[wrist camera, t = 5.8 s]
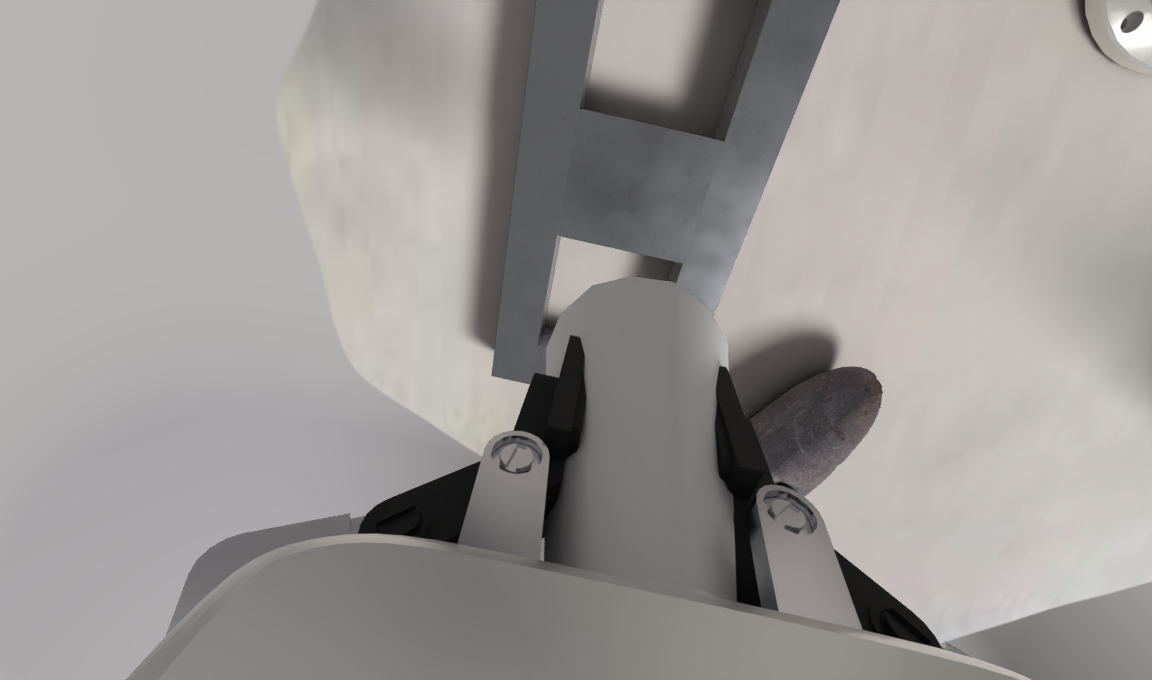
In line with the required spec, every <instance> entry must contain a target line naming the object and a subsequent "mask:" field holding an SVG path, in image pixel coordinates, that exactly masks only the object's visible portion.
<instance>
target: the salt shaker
mask: <svg viewBox="0 0 1152 680" xmlns="http://www.w3.org/2000/svg"><path fill="white" fill-rule="evenodd" d="M570 335H573V336H578V337H580V338H581V342H582V346H583V350H584V354H585V360H584V366H583V373H584V381H585V389H586V397H587V399H586V406H585V412H584V419H583V426H582V431H581V436H580V441H579V446H578V450H577V452H575V453H574V454H572V455H571V456H569V457H568V458H566V459H565V464H564V469H563V475H562V480H561V485H560V490H559V494H558V499H557V501H556V503H555V505H554V506H553V508H552V509H551V511H550V512H549V514H548V516H547V517H546V519H545V552H544V561H546V562H550V563H555V564H560V565H565V566H569V567H574V568H579V569H584V570H588V571H593V572H598V573H603V574H608V575H612V576H617V577H622V578H626V579H631V580H636V581H640V582H645V583H650V584H654V585H659V586H664V587H668V588H673V589H678V590H682V591H687V592H692V593H696V594H701V595H706V596H710V597H715V598H719V599H724V600H729V601H733V602H737V591H736V563H735V534H734V521H733V515H734V505H733V494H732V493H730V492H729V491H728V490H727V484H726V483H725V482H724V481H723V480H722V479H721V478H720V477H719V468H718V457H717V445H716V434H715V417H716V410H717V396H716V384H717V377H718V370H719V366H723V367H726V368H727V369H728V372H729V362H728V343H727V341H726V340H725V338H724V336H723V334H722V332H721V330H720V328H719V326H718V324H717V322H716V320H715V318H714V316H713V315H712V313H711V311H710V310H709V309H708V308H707V306H706V305H704V304H703V303H702V302H700V301H699V300H697V299H696V298H695V297H693V296H692V295H691V294H689V293H688V292H687V291H685V290H684V289H682V288H681V287H680V286H678V285H677V284H676V283H674V282H670V281H663V280H656V279H649V278H642V277H635V276H631V277H627V278H622V279H618V280H614V281H610V282H606V283H602V284H597V285H593V286H591V287H590V288H589V289H588V290H587V291H586V292H585V293H584V294H582V295H581V296H580V297H579V298H578V299H577V300H576V301H575V302H573V303H572V304H571V305H570V306H569V307H568V308H567V309H565V310H564V311H563V313H562V314H561V315H560V317H559V319H558V321H557V324H556V326H555V328H554V331H553V333H552V336H551V338H550V340H549V343H548V345H547V348H546V375H549V376H554V377H558V378H559V375H560V372H561V368H562V364H563V360H564V357H565V353H566V349H567V345H568V341H569V338H570Z"/></svg>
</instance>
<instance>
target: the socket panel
mask: <svg viewBox="0 0 1152 680" xmlns="http://www.w3.org/2000/svg"><path fill="white" fill-rule="evenodd" d="M603 1H604V0H536V7H535V15H534V24H533V32H532V40H531V49H530V57H529V66H528V74H527V82H526V91H525V99H524V107H523V116H522V124H521V133H520V141H519V149H518V158H517V166H516V175H515V183H514V191H513V200H512V208H511V217H510V225H509V233H508V242H507V250H506V258H505V267H504V275H503V284H502V292H501V300H500V309H499V317H498V326H497V334H496V342H495V351H494V359H493V368H492V376H495V377H499V378H504V379H508V380H513V381H517V382H522V383H526V384H531V381H532V378H533V375H534V373H540V374H544V375H546V348H547V345H548V343H549V340H550V338H551V336H552V333H553V331H554V328H551V327H546V326H544V325H545V320H546V314H547V309H548V303H549V298H550V292H551V287H552V281H553V276H554V270H555V265H556V259H557V254H558V248H559V243H560V237H561V236H562V237H566V238H571V239H575V240H580V241H584V242H589V243H593V244H598V245H602V246H607V247H611V248H615V249H620V250H624V251H629V252H633V253H638V254H642V255H647V256H651V257H656V258H660V259H665V260H669V261H673V265H672V268H671V271H670V274H669V277H668V280H667V281H670V282H674V283H676V284H677V285H678V286H680V287H681V288H682V289H684V290H685V291H687V292H688V293H689V294H691V295H692V296H693V297H695V298H696V299H697V300H699V301H700V302H702V303H703V304H704V305H706V306H707V308H708V309H709V310H710V311H711V313H712V315H713V316H714V313H715V311H716V308H717V306H718V303H719V301H720V298H721V296H722V293H723V291H724V288H725V286H726V283H727V281H728V278H729V276H730V273H731V271H732V268H733V266H734V263H735V261H736V258H737V256H738V253H739V251H740V248H741V246H742V243H743V241H744V238H745V236H746V233H747V231H748V228H749V226H750V223H751V221H752V218H753V216H754V213H755V211H756V208H757V206H758V203H759V201H760V198H761V196H762V193H763V191H764V188H765V186H766V184H767V181H768V179H769V176H770V174H771V171H772V169H773V166H774V164H775V161H776V159H777V156H778V154H779V151H780V149H781V146H782V144H783V141H784V139H785V136H786V134H787V131H788V129H789V126H790V124H791V121H792V119H793V116H794V114H795V111H796V109H797V106H798V104H799V101H800V99H801V96H802V94H803V91H804V89H805V86H806V84H807V81H808V79H809V76H810V74H811V71H812V69H813V66H814V64H815V61H816V59H817V56H818V54H819V51H820V49H821V46H822V44H823V41H824V39H825V36H826V34H827V32H828V29H829V27H830V24H831V22H832V19H833V17H834V14H835V12H836V9H837V7H838V4H839V2H840V0H759V1H758V4H757V7H756V10H755V13H754V16H753V19H752V22H751V26H750V29H749V32H748V35H747V38H746V41H745V44H744V47H743V50H742V53H741V56H740V59H739V62H738V65H737V68H736V72H735V75H734V78H733V81H732V84H731V87H730V90H729V93H728V96H727V99H726V102H725V105H724V108H723V111H722V115H721V118H720V121H719V124H718V127H717V130H716V133H715V136H714V138H710V137H706V136H701V135H697V134H693V133H688V132H684V131H679V130H675V129H671V128H666V127H662V126H658V125H653V124H649V123H644V122H640V121H636V120H631V119H627V118H622V117H618V116H614V115H609V114H605V113H600V112H596V111H592V110H587V109H584V105H585V100H586V94H587V89H588V83H589V78H590V72H591V67H592V61H593V56H594V50H595V45H596V39H597V34H598V28H599V23H600V17H601V12H602V6H603Z"/></svg>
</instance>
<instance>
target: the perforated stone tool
mask: <svg viewBox="0 0 1152 680" xmlns="http://www.w3.org/2000/svg"><path fill="white" fill-rule="evenodd" d="M882 393H883V391H882V385H881V384H880V382H879V381H878V380H877V379H876V376H875V374H874V373H872V372H871V371H869V370H867V369H864V368H862V367H841V368H837V369H833V370H829V371H826V372H823V373H821V374H818V375H815V376H813V377H811V378H809V379H807V380H805V381H803V382H801V383H799V384H798V385H796V386H794V387H793V388H791V389H790V390H788V391H787V392H785V393H784V394H783V395H781V396H780V397H779V398H778V399H777V400H775V401H773V402H771V403H770V404H769V405H767V406H766V407H765V408H764V409H762V410H761V411H759V412H758V413H757V414H755V415H754V416H753V417H752V418H750V420H751V422H752V425H753V427H754V430H755V433H756V435H757V438H758V441H759V443H760V446H761V449H762V451H763V454H764V457H765V459H766V462H767V465H768V467H769V470H770V473H771V475H772V478H773V481H774V483H775V485H779V486H784V487H786V488H789V489H792V490H794V491H795V492H797V493H799V494H800V495H802V496H803V497H805V496H806V495H807V494H809V493H810V492H811V491H812V490H813V489H815V488H816V487H817V486H818V485H819V484H821V483H822V482H823V480H825V479H826V478H827V477H828V476H829V475H830V474H831V473H832V472H833V471H834V470H835V468H836V467H837V466H838V465H839V464H841V463H842V462H843V461H844V460H845V459H846V458H847V457H848V456H849V455H850V453H851V452H852V451H853V450H854V449H855V447H856V446H857V445H858V444H859V443H860V442H861V440H862V439H863V438H864V437H865V435H866V434H867V433H868V431H869V429H870V428H871V426H872V425H873V423H874V421H875V419H876V416H877V415H878V412H879V408H881V407H880V405H881V399H882Z"/></svg>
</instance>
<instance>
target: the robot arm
mask: <svg viewBox="0 0 1152 680" xmlns="http://www.w3.org/2000/svg"><path fill="white" fill-rule="evenodd" d="M1085 13H1086V17H1087V20H1088V24H1089V27H1090V31H1091V34H1092V36H1093V38H1094V39H1095V41H1096V42H1097V44H1098V45H1099V47H1100V48H1101V50H1102V52H1103V53H1104V54H1105V55H1107V56H1108V57H1109V58H1111V59H1112V60H1113V61H1114V62H1116V63H1117V64H1118V65H1119V66H1122V67H1125V68H1127V69H1130V70H1132V71H1135V72H1138V73H1141V74H1151V75H1152V0H1085ZM584 360H585V354H584V350H583V346H582V342H581V338H580V337H578V336H573V335H570V338H569V341H568V345H567V349H566V353H565V357H564V360H563V364H562V368H561V372H560V375H559V378H558V377H554V376H549V375H544V374H540V373H534V375H533V378H532V381H531V384H530V386H529V389H528V392H527V395H526V397H525V400H524V403H523V406H522V408H521V411H520V414H519V417H518V420H517V422H516V425H515V428H514V431H508V432H503V433H501V434H498V435H496V436H494V437H493V438H492V439H491V440H490V441H489V442H488V443H487V445H486V447H485V449H484V453H483V456H482V460H481V461H480V462H477V463H475V464H472V465H470V466H467V467H465V468H462V469H460V470H458V471H455V472H453V473H450V474H448V475H445V476H443V477H441V478H438V479H436V480H433V481H431V482H428V483H426V484H424V485H421V486H419V487H416V488H414V489H411V490H409V491H407V492H404V493H402V494H399V495H397V496H394V497H392V498H390V499H387V500H385V501H383V502H382V503H380V504H378V505H376V506H375V507H374V508H373V509H372V510H371V511H370V512H369V513H367V515H366V516H363V517H357V518H352V519H351V517H350V513H349V514H344V515H339V516H333V517H328V518H323V519H317V520H312V521H307V522H302V523H296V524H291V525H285V526H280V527H275V528H269V529H264V530H259V531H253V532H248V533H243V534H239V535H236V536H233V537H230V538H227V539H225V540H223V541H221V542H219V543H218V544H216V545H214V546H213V547H211V548H210V549H208V550H207V551H206V552H205V553H204V554H203V555H202V556H201V557H200V558H199V559H198V560H197V561H196V563H195V564H194V566H193V567H192V569H191V571H190V572H189V574H188V578H187V580H186V582H185V585H184V588H183V591H182V594H181V596H180V599H179V602H178V604H177V607H176V610H175V612H174V615H173V618H172V620H171V623H170V626H169V629H168V632H167V634H166V637H165V638H164V639H163V640H162V641H161V642H160V643H159V644H158V645H157V646H156V647H155V649H154V650H153V651H152V652H151V653H150V654H149V655H148V656H147V657H146V658H145V659H144V660H143V661H142V663H141V664H140V665H139V666H138V667H137V668H136V669H135V670H134V671H133V672H132V673H131V675H130V676H129V677H128V678H127V679H126V680H1031V679H1029V678H1026V677H1024V676H1022V675H1020V674H1017V673H1015V672H1013V671H1010V670H1007V669H1004V668H1001V667H998V666H996V665H993V664H989V663H987V662H984V661H981V660H978V659H975V658H972V657H971V656H969V655H967V654H965V653H964V652H962V651H961V650H959V649H957V648H956V647H954V646H952V645H951V644H949V643H947V642H946V641H945V642H944V643H943V644H942V645H941V646H940V644H939V642H938V641H937V639H936V637H935V635H934V634H933V633H932V632H931V631H930V629H929V628H928V627H927V626H926V624H925V623H924V622H923V621H922V620H921V619H919V618H918V617H917V616H916V615H915V614H914V613H913V612H912V611H911V610H909V609H908V608H907V607H906V606H904V605H903V604H902V603H901V602H899V601H898V600H897V599H896V598H894V597H893V596H892V595H891V594H889V593H888V592H887V591H886V590H884V589H883V588H882V587H881V586H879V585H878V584H877V583H876V582H874V581H873V580H872V579H871V578H869V577H868V576H867V575H866V574H864V573H863V572H862V571H861V570H859V569H858V568H857V567H856V566H854V565H853V564H852V563H851V562H849V561H848V560H847V559H846V558H844V557H843V556H842V555H841V554H839V553H838V552H837V551H836V550H834V549H833V546H832V543H831V540H830V537H829V535H828V532H827V529H826V526H825V523H824V521H823V519H822V517H821V515H820V513H819V511H818V510H817V509H816V508H815V507H814V506H813V504H812V503H811V502H809V501H808V500H807V499H806V498H805V497H803V496H802V495H800V494H799V493H797V492H795V491H794V490H792V489H789V488H786V487H784V486H779V485H775V483H774V481H773V478H772V475H771V473H770V470H769V467H768V465H767V462H766V459H765V457H764V454H763V451H762V449H761V446H760V443H759V441H758V438H757V435H756V433H755V430H754V427H753V425H752V422H751V420H750V419H749V418H748V417H746V416H744V414H743V411H742V408H741V405H740V403H739V400H738V397H737V394H736V391H735V389H734V386H733V383H732V380H731V378H730V375H729V372H728V369H727V368H726V367H723V366H719V370H718V377H717V384H716V396H717V410H716V417H715V434H716V445H717V457H718V468H719V477H720V478H721V479H722V480H723V481H724V482H725V483H726V484H727V490H728V491H729V492H730V493H732V494H733V505H734V515H733V521H734V534H735V563H736V591H737V602H733V601H729V600H724V599H719V598H715V597H710V596H706V595H701V594H696V593H692V592H687V591H682V590H678V589H673V588H668V587H664V586H659V585H654V584H650V583H645V582H640V581H636V580H631V579H626V578H622V577H617V576H612V575H608V574H603V573H598V572H593V571H588V570H584V569H579V568H574V567H569V566H565V565H560V564H555V563H550V562H546V561H541V560H540V551H541V541H542V538H544V537H545V519H546V517H547V516H548V514H549V512H550V511H551V509H552V508H553V506H554V505H555V503H556V501H557V499H558V494H559V490H560V485H561V480H562V475H563V469H564V464H565V459H566V458H568V457H569V456H571V455H572V454H574V453H575V452H577V450H578V446H579V441H580V436H581V431H582V426H583V419H584V412H585V406H586V399H587V397H586V389H585V381H584V373H583V366H584Z"/></svg>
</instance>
